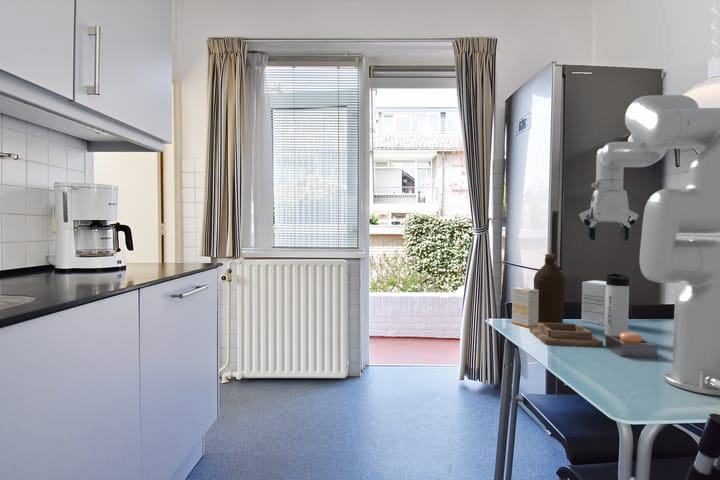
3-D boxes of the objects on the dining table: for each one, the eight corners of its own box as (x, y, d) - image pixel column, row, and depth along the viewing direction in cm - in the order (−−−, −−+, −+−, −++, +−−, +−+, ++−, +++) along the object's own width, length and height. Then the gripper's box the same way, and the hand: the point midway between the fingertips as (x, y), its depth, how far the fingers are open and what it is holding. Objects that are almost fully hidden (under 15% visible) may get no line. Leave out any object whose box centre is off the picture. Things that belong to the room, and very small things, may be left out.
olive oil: (545, 326, 148) (547, 255, 148) (526, 320, 159) (528, 253, 158) (571, 325, 151) (573, 255, 151) (550, 319, 161) (552, 253, 161)
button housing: (657, 358, 112) (657, 344, 112) (620, 356, 113) (621, 343, 113) (638, 348, 121) (639, 336, 121) (605, 347, 122) (605, 335, 122)
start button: (645, 347, 114) (645, 337, 114) (625, 346, 115) (625, 336, 115) (635, 342, 119) (635, 332, 119) (616, 341, 120) (616, 331, 120)
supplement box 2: (592, 318, 163) (593, 279, 163) (617, 323, 156) (618, 282, 155) (580, 321, 158) (581, 281, 157) (605, 326, 150) (606, 283, 150)
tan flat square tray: (602, 346, 122) (603, 334, 122) (545, 344, 124) (545, 332, 124) (580, 333, 138) (580, 322, 138) (529, 331, 140) (529, 321, 140)
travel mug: (623, 336, 136) (625, 273, 135) (630, 341, 129) (632, 275, 129) (601, 334, 137) (603, 273, 137) (607, 339, 131) (609, 274, 131)
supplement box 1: (538, 327, 147) (539, 289, 147) (528, 328, 145) (528, 290, 145) (521, 322, 155) (522, 286, 154) (511, 323, 153) (511, 287, 153)
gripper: (585, 185, 132) (584, 240, 133) (644, 185, 130) (643, 241, 131) (576, 187, 140) (574, 239, 140) (632, 187, 138) (630, 240, 138)
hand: (607, 240), depth 135 cm, fingers open, 9 cm apart
